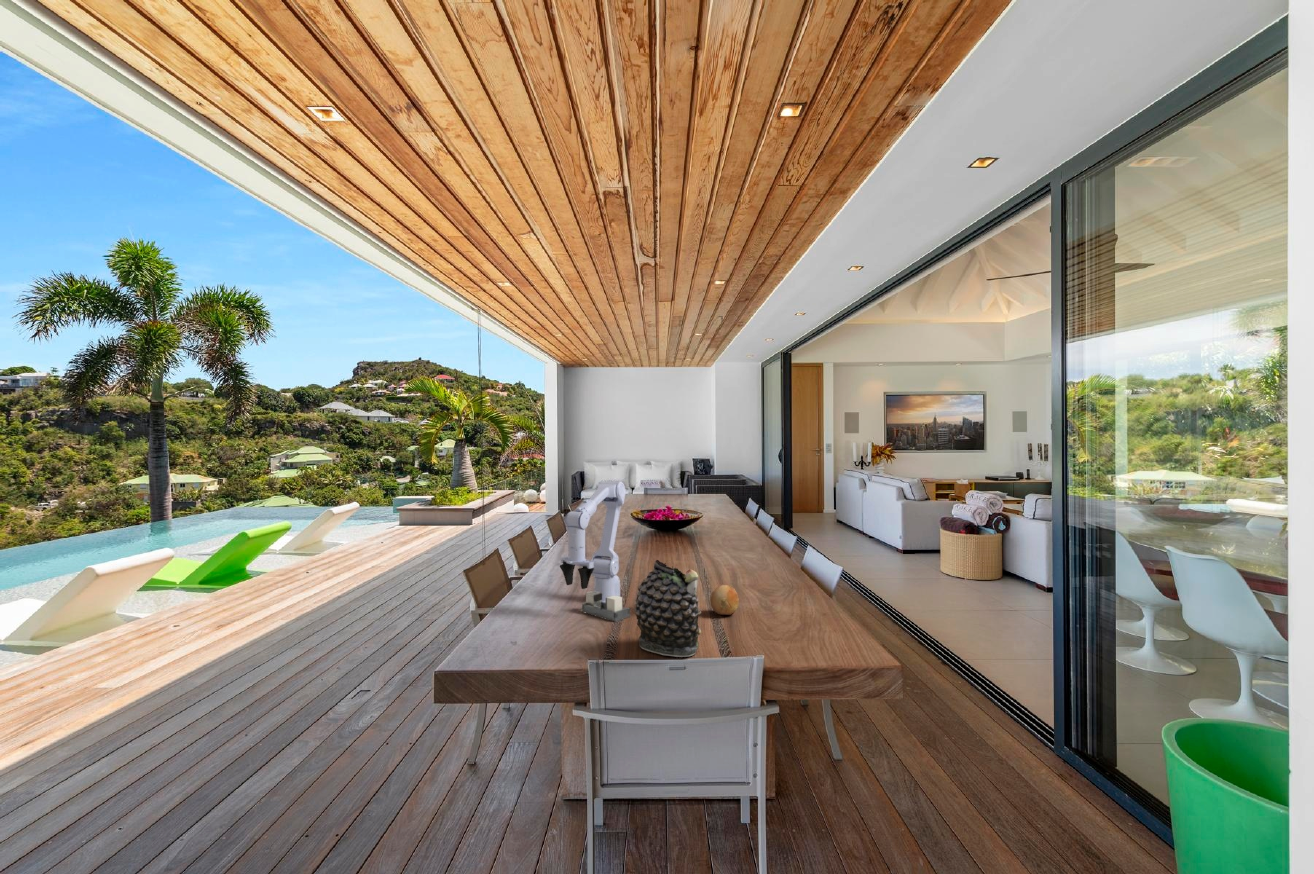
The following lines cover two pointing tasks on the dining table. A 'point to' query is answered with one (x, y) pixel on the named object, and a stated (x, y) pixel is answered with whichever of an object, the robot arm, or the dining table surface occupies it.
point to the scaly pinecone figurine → (668, 611)
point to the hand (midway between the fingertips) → (576, 586)
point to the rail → (602, 607)
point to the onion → (724, 600)
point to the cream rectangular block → (614, 603)
